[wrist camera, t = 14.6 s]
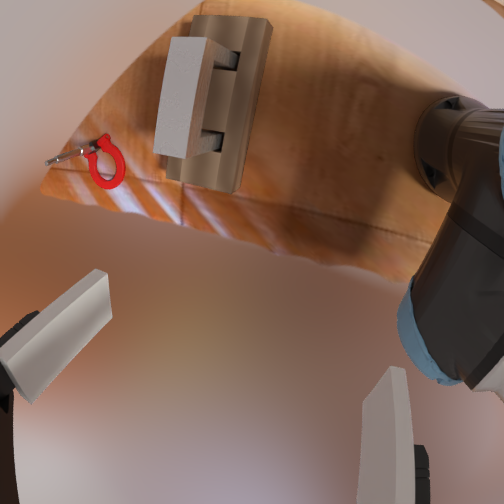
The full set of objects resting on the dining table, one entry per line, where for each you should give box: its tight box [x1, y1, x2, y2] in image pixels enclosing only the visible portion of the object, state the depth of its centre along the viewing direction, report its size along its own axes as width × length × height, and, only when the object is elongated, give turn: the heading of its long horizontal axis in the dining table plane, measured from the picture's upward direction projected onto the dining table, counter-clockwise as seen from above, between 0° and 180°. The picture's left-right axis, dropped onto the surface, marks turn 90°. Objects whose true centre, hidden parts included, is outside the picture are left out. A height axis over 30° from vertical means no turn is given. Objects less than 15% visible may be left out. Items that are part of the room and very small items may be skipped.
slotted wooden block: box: [166, 15, 273, 194], centre depth 36 cm, size 10×24×4 cm, turn 169°
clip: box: [153, 37, 240, 159], centre depth 32 cm, size 4×13×13 cm, turn 169°
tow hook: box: [45, 134, 125, 189], centre depth 41 cm, size 8×13×9 cm
